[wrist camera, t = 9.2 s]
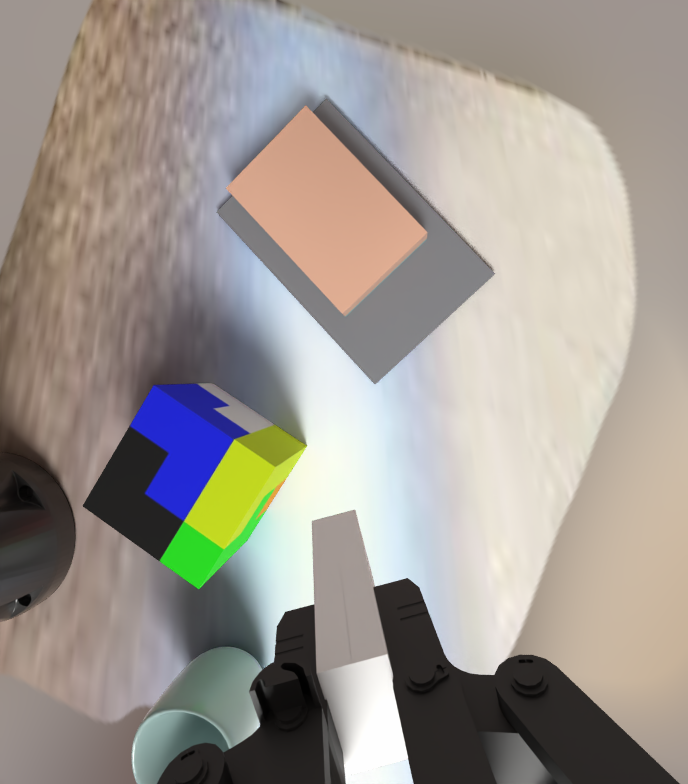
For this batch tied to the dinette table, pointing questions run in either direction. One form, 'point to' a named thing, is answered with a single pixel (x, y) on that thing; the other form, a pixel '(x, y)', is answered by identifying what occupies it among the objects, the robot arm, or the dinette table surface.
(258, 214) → the tile
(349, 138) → the mat
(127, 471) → the puzzle toy
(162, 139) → the dinette table surface
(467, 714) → the robot arm
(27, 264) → the dinette table surface
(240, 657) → the cup
